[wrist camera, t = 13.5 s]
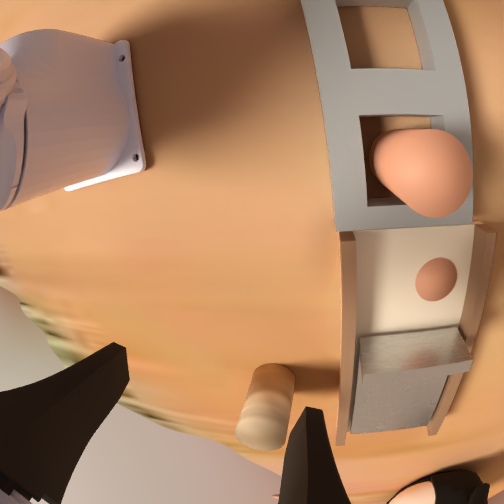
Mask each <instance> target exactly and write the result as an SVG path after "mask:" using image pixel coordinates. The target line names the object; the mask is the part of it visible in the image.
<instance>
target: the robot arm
mask: <svg viewBox="0 0 504 504" xmlns="http://www.w3.org/2000/svg"><path fill="white" fill-rule="evenodd" d="M124 56H125V59H124V61H123V62H122V58H123V57H124ZM136 154H138V156H139V160H136ZM145 168H146V159H145V154H144V148H143V142H142V137H141V130H140V124H139V118H138V111H137V104H136V97H135V89H134V81H133V73H132V64H131V54H130V44H129V42H128V41H127V40H120V41H118V42H116V43H114V44H113V43H109V42H106V41H102V40H99V39H95V38H91V37H87V36H83V35H79V34H75V33H71V32H66V31H61V30H55V29H41V30H34V31H29V32H25V33H22V34H19V35H17V36H14V37H12V38H10V39H8V40H7V41H5V42H4V43H2V44H1V45H0V211H3V210H5V209H8V208H10V207H13V206H15V205H18V204H21V203H23V202H26V201H28V200H31V199H34V198H36V197H39V196H42V195H45V194H48V193H50V192H53V191H56V190H59V189H62V188H64V189H65V190H66V191H67V192H69V191H72V190H76V189H79V188H82V187H86V186H89V185H93V184H96V183H100V182H104V181H107V180H111V179H115V178H119V177H123V176H127V175H131V174H135V173H139V172H142V171H144V170H145ZM129 380H130V378H129V371H128V363H127V354H126V348H125V347H123V346H121V345H119V344H117V343H114V342H113V343H111V344H109V345H107V346H105V347H104V348H102V349H100V350H99V351H97V352H95V353H93V354H92V355H90V356H88V357H87V358H85V359H83V360H81V361H79V362H78V363H76V364H74V365H72V366H70V367H68V368H66V369H64V370H63V371H60V372H58V373H56V374H54V375H52V376H50V377H48V378H45V379H43V380H40V381H38V382H35V383H32V384H29V385H26V386H23V387H19V388H16V389H12V390H8V391H2V392H0V504H32V503H31V502H30V499H31V498H34V499H35V500H36V501H37V502H39V501H40V500H41V498H42V499H44V500H45V501H46V502H48V503H49V504H61V501H62V499H63V495H64V493H65V490H66V487H67V485H68V482H69V480H70V478H71V475H72V473H73V471H74V469H75V467H76V465H77V463H78V461H79V459H80V457H81V455H82V453H83V451H84V449H85V447H86V446H87V444H88V442H89V440H90V439H91V437H92V436H93V434H94V433H95V432H96V430H97V429H98V428H99V426H100V425H101V423H102V422H103V421H104V419H105V418H106V417H107V415H108V414H109V413H110V411H111V410H112V409H113V407H114V406H115V404H116V403H117V402H118V400H119V399H120V397H121V395H122V393H123V392H124V390H125V388H126V386H127V384H128V382H129ZM278 504H351V502H350V500H349V498H348V496H347V494H346V491H345V489H344V486H343V484H342V481H341V478H340V476H339V473H338V470H337V467H336V464H335V460H334V457H333V453H332V450H331V446H330V442H329V438H328V434H327V430H326V425H325V420H324V414H323V411H322V410H321V409H316V408H311V407H305V409H304V411H303V412H302V414H301V416H300V418H299V419H298V421H297V423H296V424H295V426H294V428H293V429H292V431H291V433H290V436H289V440H288V444H287V448H286V453H285V457H284V465H283V473H282V480H281V488H280V495H279V502H278Z"/></svg>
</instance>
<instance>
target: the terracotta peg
mask: <svg viewBox="0 0 504 504" xmlns="http://www.w3.org/2000/svg"><path fill="white" fill-rule="evenodd" d="M369 163H370V167H371V170H372V172H373V174H374V176H375V177H376V179H377V180H378V181H379V182H380V183H382V184H383V185H384V186H385V187H387V188H388V189H389V190H390V191H391V192H393V193H394V194H395V195H396V196H397V197H399V198H400V199H401V200H402V201H403V202H405V203H406V204H407V205H408V206H409V207H410V208H411V209H413V210H414V211H415V212H417V213H419V214H421V215H423V216H426V217H431V218H439V217H444V216H447V215H450V214H452V213H453V212H455V211H456V210H457V209H459V208H460V207H461V205H462V204H463V203H464V202H465V200H466V198H467V197H468V194H469V192H470V189H471V185H472V175H473V174H472V165H471V161H470V158H469V155H468V153H467V151H466V149H465V148H464V146H463V145H462V144H461V142H460V141H459V140H458V139H457V138H455V137H454V136H453V135H451V134H449V133H447V132H445V131H442V130H437V129H408V130H390V131H387V132H384V133H382V134H381V135H380V136H378V137H377V138H376V139H375V141H374V142H373V144H372V146H371V149H370V153H369Z"/></svg>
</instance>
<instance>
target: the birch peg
mask: <svg viewBox="0 0 504 504" xmlns="http://www.w3.org/2000/svg"><path fill="white" fill-rule="evenodd" d="M294 387H295V375H294V374H293V372H292V371H291V370H290V369H288V368H287V367H285V366H282V365H279V364H264V365H261V366H259V367H258V368H257V369H256V370H255V372H254V374H253V377H252V381H251V384H250V387H249V390H248V393H247V397H246V400H245V403H244V406H243V409H242V412H241V415H240V418H239V422H238V425H237V428H236V431H235V437H236V438H237V440H238V441H239V442H240V443H242V444H243V445H245V446H247V447H250V448H253V449H257V450H265V451H268V450H276V449H279V448H281V447H282V446H283V445H284V444H285V440H286V435H287V429H288V424H289V418H290V412H291V406H292V400H293V393H294Z"/></svg>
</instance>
